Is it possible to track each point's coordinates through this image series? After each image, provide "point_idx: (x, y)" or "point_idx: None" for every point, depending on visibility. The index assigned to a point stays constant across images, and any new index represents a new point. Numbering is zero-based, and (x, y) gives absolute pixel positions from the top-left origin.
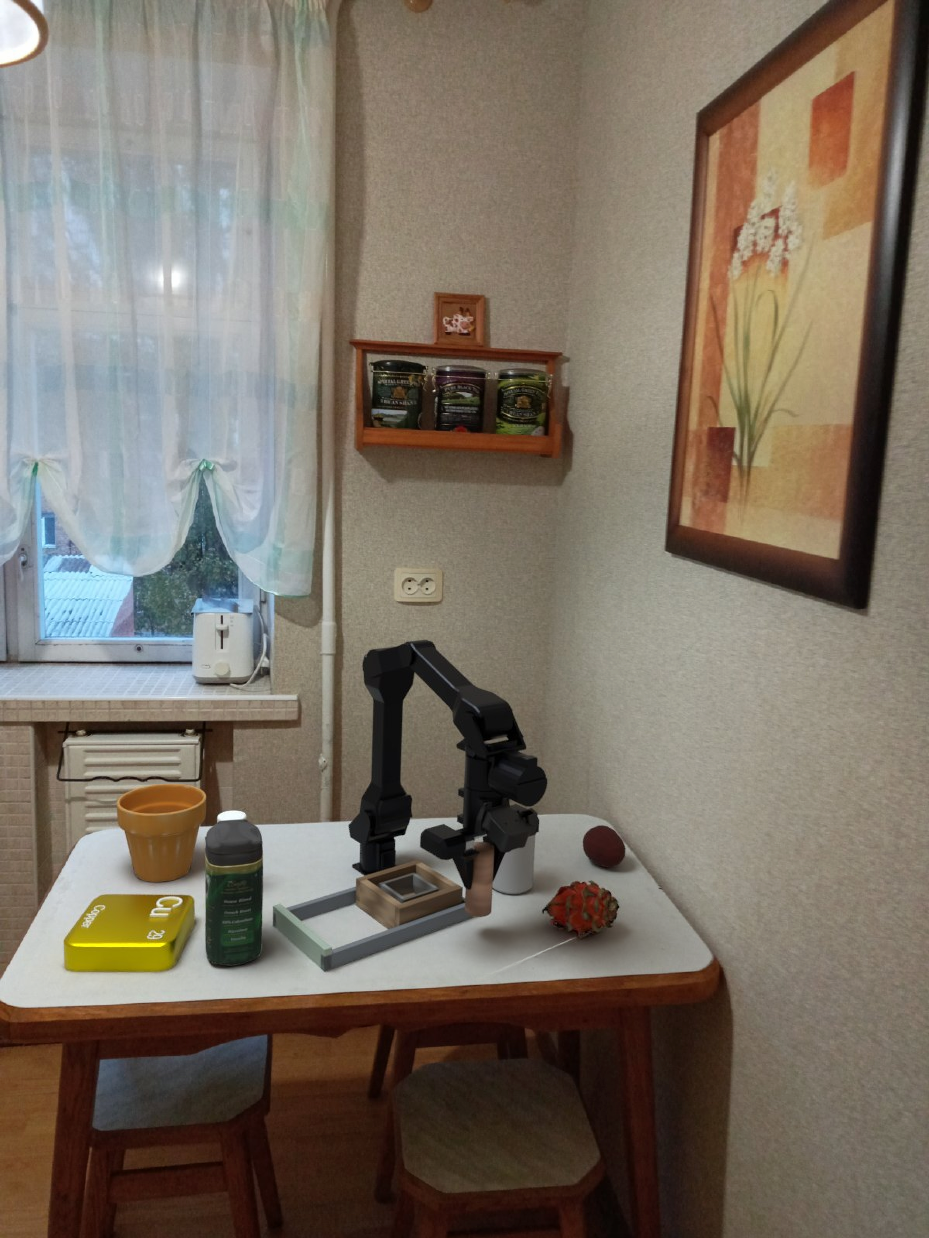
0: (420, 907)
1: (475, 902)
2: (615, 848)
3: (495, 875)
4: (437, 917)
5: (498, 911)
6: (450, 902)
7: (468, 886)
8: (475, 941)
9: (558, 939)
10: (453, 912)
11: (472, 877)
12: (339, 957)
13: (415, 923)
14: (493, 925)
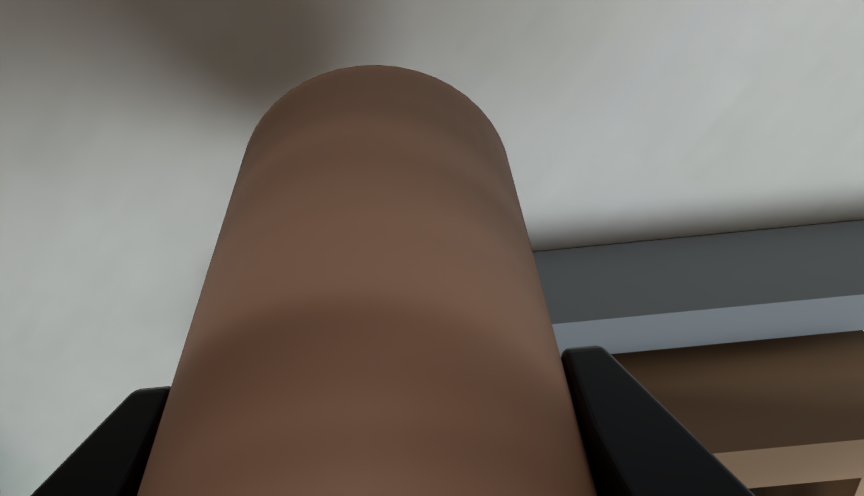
0: (720, 413)
1: (500, 191)
2: None
3: (79, 454)
4: (604, 312)
5: (59, 277)
6: None
7: (633, 379)
8: (427, 26)
9: None
10: None
11: (639, 488)
12: None
13: (796, 307)
14: (178, 149)
